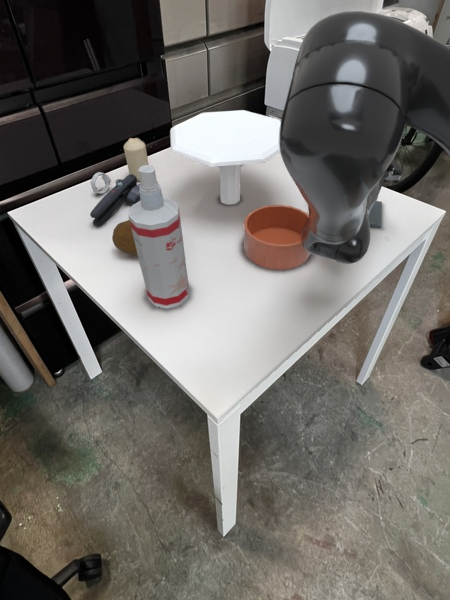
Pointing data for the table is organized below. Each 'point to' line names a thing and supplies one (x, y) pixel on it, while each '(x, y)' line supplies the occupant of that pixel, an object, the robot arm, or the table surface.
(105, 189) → the wristwatch
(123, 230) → the potato
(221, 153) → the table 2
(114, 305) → the table surface
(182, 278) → the spray bottle
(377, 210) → the square plate
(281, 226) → the bowl
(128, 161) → the candle
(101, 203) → the can opener
